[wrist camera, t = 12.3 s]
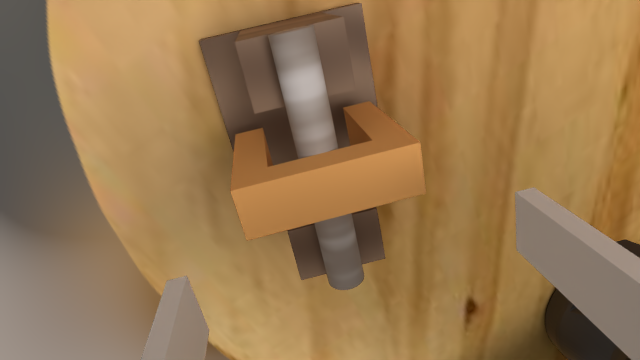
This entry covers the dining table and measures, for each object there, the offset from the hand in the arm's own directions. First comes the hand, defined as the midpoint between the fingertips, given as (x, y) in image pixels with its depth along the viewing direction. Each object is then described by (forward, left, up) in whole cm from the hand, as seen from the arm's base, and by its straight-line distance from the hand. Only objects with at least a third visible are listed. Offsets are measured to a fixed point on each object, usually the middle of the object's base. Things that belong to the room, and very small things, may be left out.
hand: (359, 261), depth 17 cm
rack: (0, 0, -20) cm, 20 cm away
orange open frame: (0, 0, -16) cm, 16 cm away
